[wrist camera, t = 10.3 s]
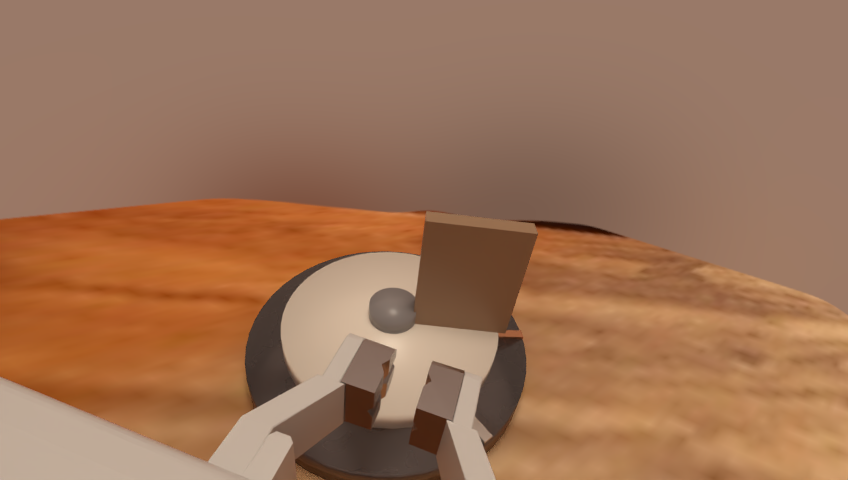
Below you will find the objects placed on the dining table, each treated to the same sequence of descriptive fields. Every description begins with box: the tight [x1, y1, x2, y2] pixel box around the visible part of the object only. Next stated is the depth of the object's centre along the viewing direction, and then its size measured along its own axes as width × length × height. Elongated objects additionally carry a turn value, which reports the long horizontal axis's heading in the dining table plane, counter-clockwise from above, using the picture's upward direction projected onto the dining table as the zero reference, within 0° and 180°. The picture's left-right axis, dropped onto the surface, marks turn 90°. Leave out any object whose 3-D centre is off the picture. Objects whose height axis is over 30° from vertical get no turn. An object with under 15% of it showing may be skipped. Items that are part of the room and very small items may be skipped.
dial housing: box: [245, 252, 526, 480], centre depth 31 cm, size 21×21×2 cm
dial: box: [281, 211, 538, 429], centre depth 28 cm, size 16×16×10 cm
